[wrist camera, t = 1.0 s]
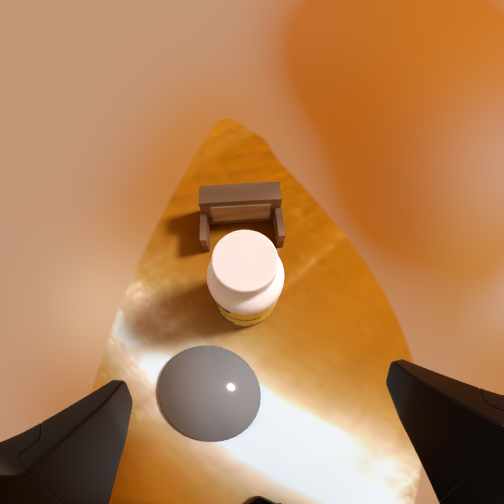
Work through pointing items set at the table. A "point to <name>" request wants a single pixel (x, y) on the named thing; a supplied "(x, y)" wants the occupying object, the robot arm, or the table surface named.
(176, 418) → the slate coaster
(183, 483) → the table surface
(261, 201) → the bracket
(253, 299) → the supplement bottle
